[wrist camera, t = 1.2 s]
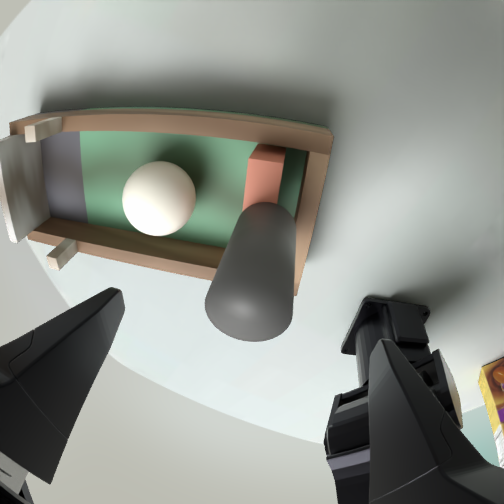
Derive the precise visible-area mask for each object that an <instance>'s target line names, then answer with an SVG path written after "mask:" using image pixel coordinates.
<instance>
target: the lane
mask: <svg viewBox="0 0 504 504" xmlns="http://www.w3.org/2000/svg"><path fill="white" fill-rule="evenodd" d="M9 125H10V136H8V137H5V138H3V139H1V140H0V201H1V206H2V210H3V214H4V218H5V222H6V226H7V230H8V234H9V237H10V241H12V242H15V243H18V242H20V241H21V240H22V239H23V238H24V237H26V236H28V239H29V240H33V241H37V242H41V243H44V244H48V245H52V246H56V248H55V249H53V250H52V251H51V252H50V253H49V254H48V255H47V256H46V257H47V260H48V264H49V267H50V268H52V269H55V270H60V269H61V268H62V267H63V266H64V265H65V264H66V263H67V262H68V261H69V260H70V259H71V258H72V257H73V256H74V255H75V254H76V253H77V252H81V253H85V254H90V255H94V256H98V257H103V258H107V259H111V260H116V261H120V262H125V263H129V264H134V265H138V266H143V267H148V268H152V269H157V270H162V271H166V272H171V273H176V274H181V275H186V276H191V277H196V278H201V279H206V280H211V281H213V278H214V276H215V273H216V271H217V268H218V266H219V264H220V261H221V259H222V256H223V254H224V252H225V249H226V247H227V244H228V242H229V240H230V237H231V235H232V232H233V230H234V228H235V225H236V223H237V221H238V218H239V216H240V214H241V213H242V210H243V201H244V192H245V184H246V175H247V167H248V159H249V157H250V155H251V154H252V152H253V151H254V149H255V147H256V146H257V144H258V143H260V144H266V145H273V146H279V147H285V148H286V153H285V159H284V165H283V171H282V177H281V183H280V189H279V195H278V201H277V204H278V205H280V206H282V207H283V208H285V209H286V210H287V211H288V212H289V213H290V214H291V215H292V217H293V219H294V221H295V224H296V255H295V278H294V296H296V295H297V292H298V288H299V284H300V280H301V277H302V273H303V269H304V265H305V261H306V257H307V253H308V250H309V246H310V242H311V237H312V233H313V229H314V225H315V221H316V217H317V212H318V208H319V204H320V199H321V195H322V191H323V186H324V182H325V177H326V172H327V168H328V163H329V158H330V153H331V148H332V143H333V138H334V136H333V134H332V133H331V132H330V130H329V129H328V127H326V126H321V125H316V124H311V123H306V122H300V121H294V120H289V119H282V118H276V117H269V116H262V115H255V114H247V113H238V112H229V111H218V110H206V109H192V108H171V107H107V108H87V109H73V110H62V111H52V112H44V113H38V114H35V115H31V116H28V117H25V118H22V119H19V120H16V121H13V122H10V123H9ZM155 161H165V162H170V163H173V164H175V165H177V166H179V167H181V168H182V169H183V170H184V171H185V172H186V173H187V174H188V175H189V177H190V178H191V180H192V182H193V184H194V187H195V192H196V203H195V207H194V211H193V213H192V215H191V217H190V219H189V220H188V221H187V223H186V224H185V225H184V226H183V227H182V228H180V229H179V230H177V231H176V232H173V233H171V234H168V235H163V236H153V235H148V234H145V233H143V232H141V231H139V230H138V229H136V228H135V227H134V226H133V225H132V224H131V223H130V222H129V220H128V219H127V217H126V215H125V212H124V209H123V203H122V196H123V190H124V187H125V184H126V182H127V180H128V179H129V177H130V176H131V175H132V173H133V172H134V171H136V170H137V169H138V168H139V167H141V166H143V165H145V164H147V163H150V162H155Z"/></svg>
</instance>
